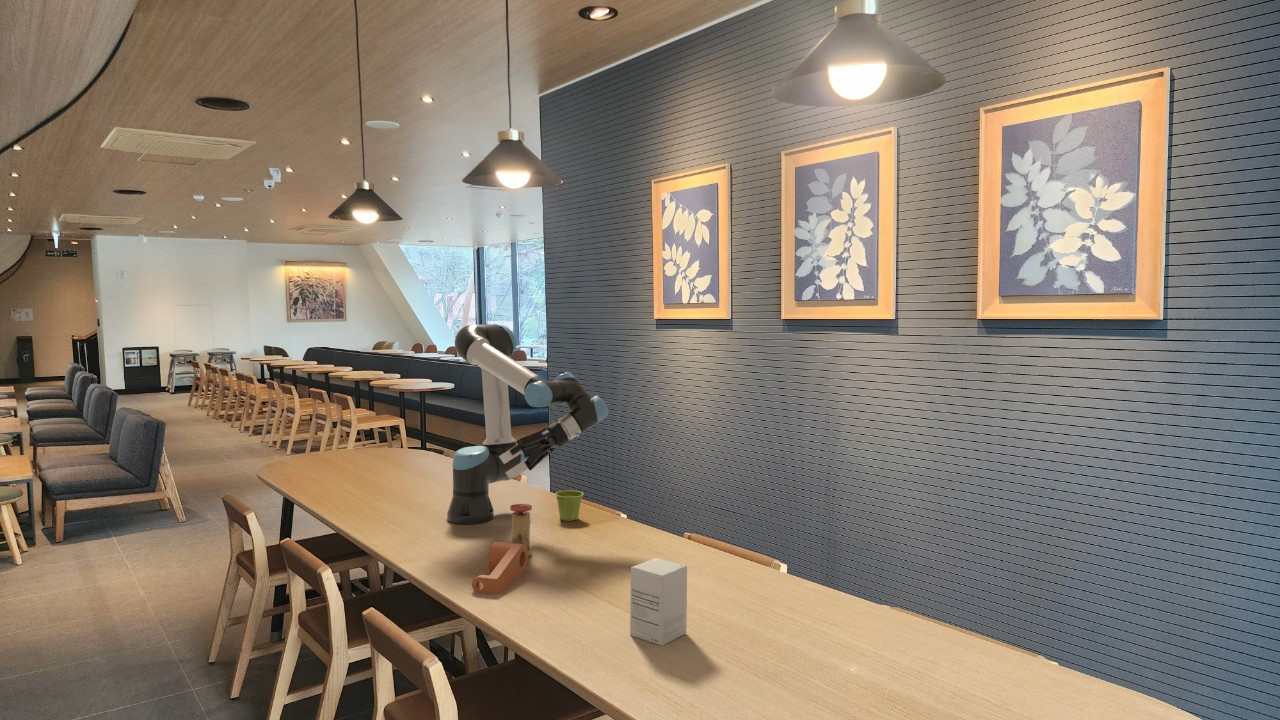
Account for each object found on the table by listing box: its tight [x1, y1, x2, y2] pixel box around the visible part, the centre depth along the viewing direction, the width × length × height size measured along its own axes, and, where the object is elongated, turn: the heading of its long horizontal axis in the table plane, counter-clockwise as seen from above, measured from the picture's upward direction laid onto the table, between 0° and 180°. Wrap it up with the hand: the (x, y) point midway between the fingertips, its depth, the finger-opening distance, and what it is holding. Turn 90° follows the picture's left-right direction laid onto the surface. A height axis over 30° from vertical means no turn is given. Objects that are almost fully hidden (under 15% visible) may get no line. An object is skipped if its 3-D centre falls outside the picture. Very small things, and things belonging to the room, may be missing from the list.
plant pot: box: [554, 490, 584, 522], centre depth 261 cm, size 9×9×9 cm
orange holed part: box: [471, 540, 529, 595], centre depth 200 cm, size 20×8×8 cm, turn 166°
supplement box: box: [629, 557, 688, 647], centre depth 167 cm, size 9×9×15 cm
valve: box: [509, 503, 533, 559], centre depth 220 cm, size 6×6×14 cm
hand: (504, 468), depth 237 cm, fingers open, 13 cm apart
